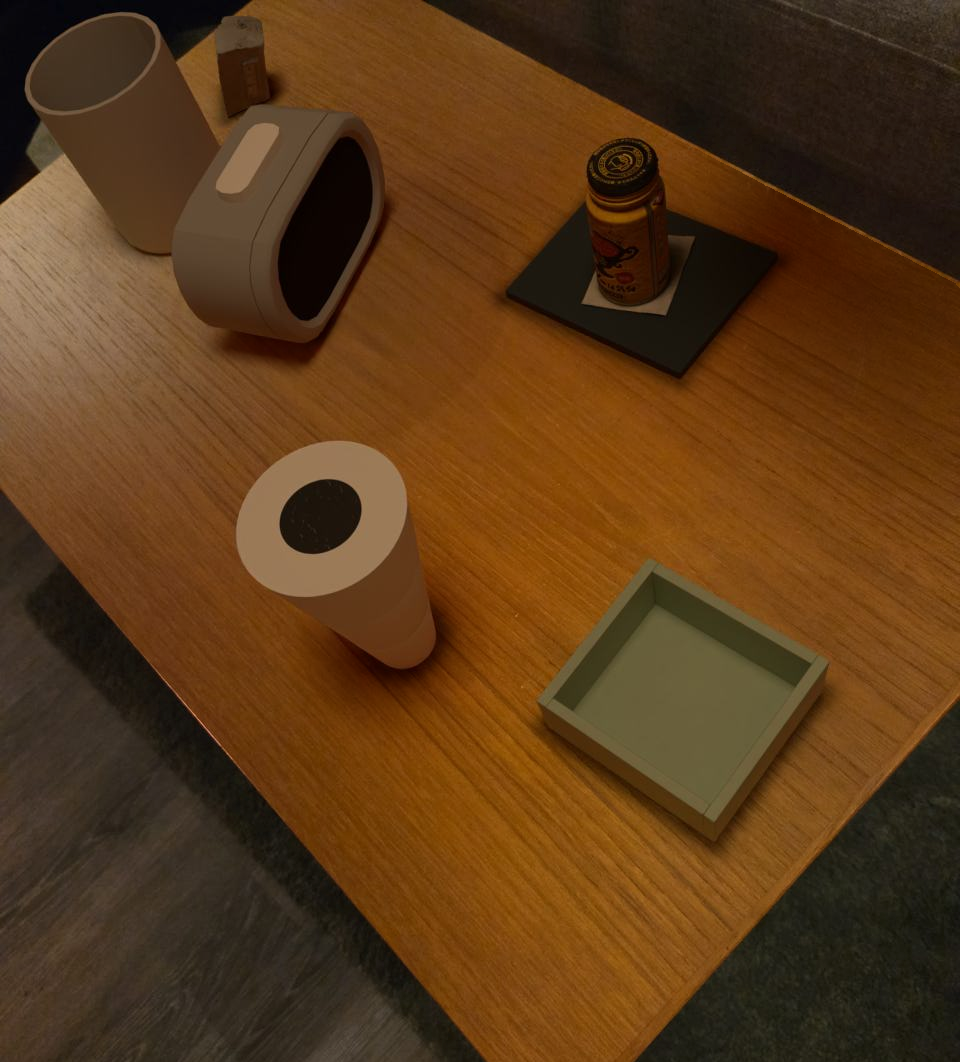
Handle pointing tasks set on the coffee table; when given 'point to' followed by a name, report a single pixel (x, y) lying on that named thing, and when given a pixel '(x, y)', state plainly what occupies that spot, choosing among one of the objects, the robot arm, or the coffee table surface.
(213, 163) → the alarm clock
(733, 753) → the tray
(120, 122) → the cup
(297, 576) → the cup
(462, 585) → the coffee table surface
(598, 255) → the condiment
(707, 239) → the mat
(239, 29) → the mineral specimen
